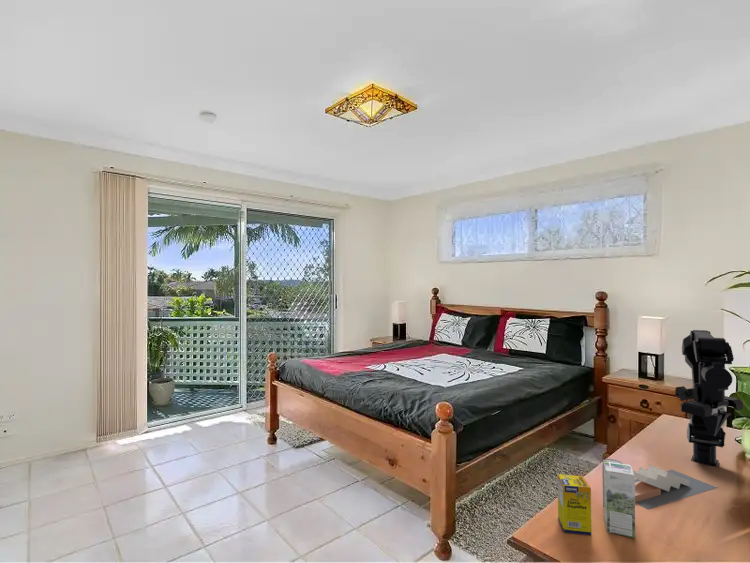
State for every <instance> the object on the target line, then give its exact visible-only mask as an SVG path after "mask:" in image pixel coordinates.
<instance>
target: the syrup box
mask: <svg viewBox="0 0 750 563" xmlns="http://www.w3.org/2000/svg"><path fill="white" fill-rule="evenodd" d="M633 471H634V470H633V468H632V465H630V464H624V463H623V464H620V463H613V462H606V461H604V507H603V509H604V513H603V514H604V518H603V519H604V523H605V529H606V533H610V534H614V535H619V536H624V537H627V538H632V539H635V538H636V503H635V479H636V478H635V476H634V473H633Z"/></svg>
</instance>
